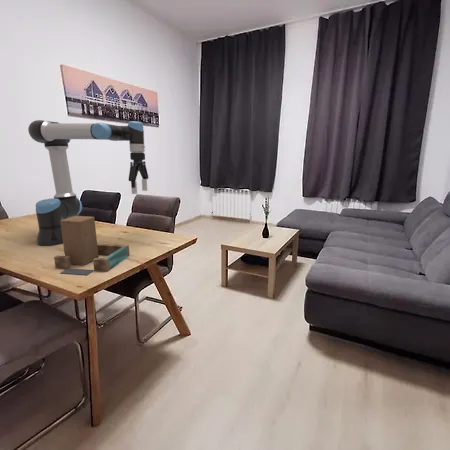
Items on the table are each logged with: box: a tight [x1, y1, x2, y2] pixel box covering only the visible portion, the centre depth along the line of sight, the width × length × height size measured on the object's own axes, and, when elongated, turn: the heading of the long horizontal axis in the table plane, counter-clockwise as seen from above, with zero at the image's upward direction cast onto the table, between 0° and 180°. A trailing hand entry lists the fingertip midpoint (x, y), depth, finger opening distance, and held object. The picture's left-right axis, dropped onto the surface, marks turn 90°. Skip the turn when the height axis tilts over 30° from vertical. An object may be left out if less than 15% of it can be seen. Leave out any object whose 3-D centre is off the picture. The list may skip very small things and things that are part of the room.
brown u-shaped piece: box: [53, 243, 130, 272], centre depth 131 cm, size 24×20×5 cm
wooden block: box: [60, 215, 100, 266], centre depth 130 cm, size 10×10×20 cm
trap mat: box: [59, 267, 94, 276], centre depth 120 cm, size 12×5×1 cm, turn 82°
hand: (139, 192), depth 158 cm, fingers open, 13 cm apart
